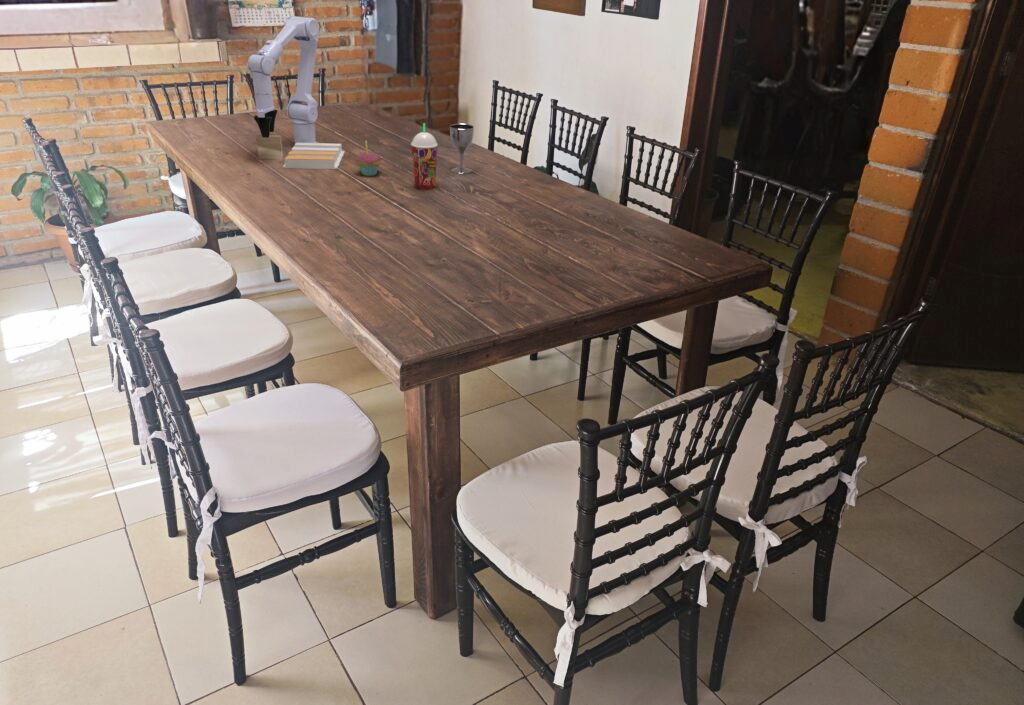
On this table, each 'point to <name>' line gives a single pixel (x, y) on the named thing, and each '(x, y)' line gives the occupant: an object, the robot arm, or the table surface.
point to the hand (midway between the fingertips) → (268, 134)
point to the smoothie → (424, 159)
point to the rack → (314, 156)
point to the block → (269, 147)
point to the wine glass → (461, 142)
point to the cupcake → (368, 162)
